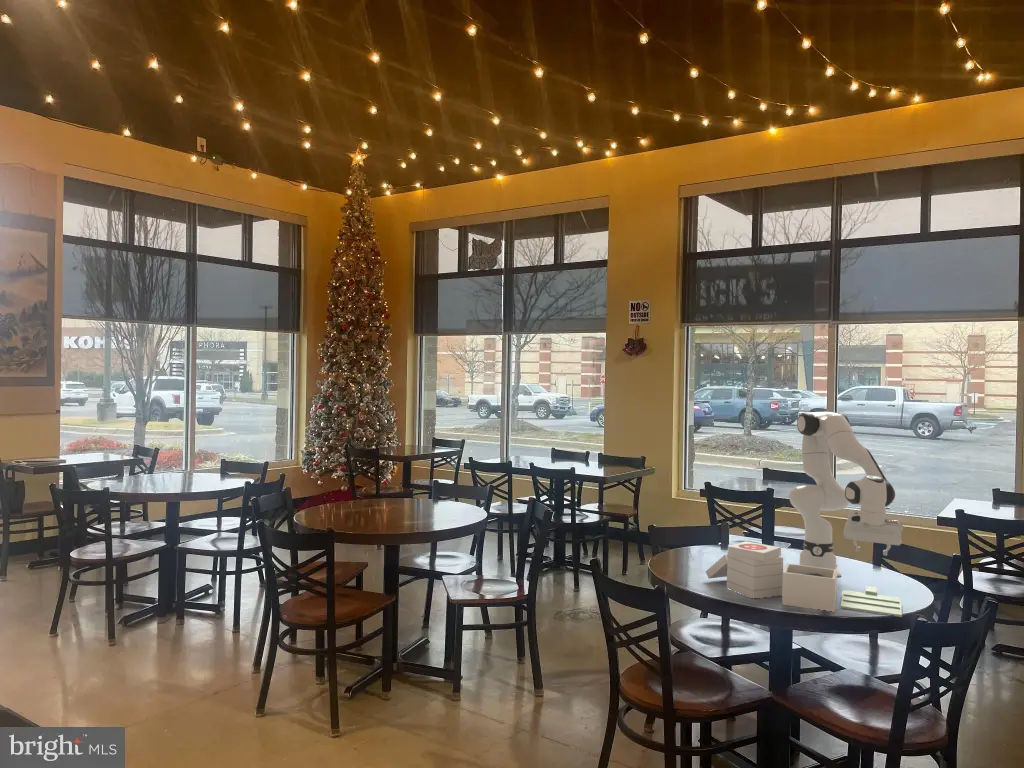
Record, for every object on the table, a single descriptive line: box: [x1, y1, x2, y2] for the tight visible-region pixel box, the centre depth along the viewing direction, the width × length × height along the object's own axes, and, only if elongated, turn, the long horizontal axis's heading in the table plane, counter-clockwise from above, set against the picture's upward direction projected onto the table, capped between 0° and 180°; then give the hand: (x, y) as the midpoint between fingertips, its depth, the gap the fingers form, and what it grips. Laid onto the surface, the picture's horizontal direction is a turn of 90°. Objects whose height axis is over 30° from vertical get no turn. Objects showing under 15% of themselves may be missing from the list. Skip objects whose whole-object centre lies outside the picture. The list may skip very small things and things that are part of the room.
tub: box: [781, 563, 838, 613], centre depth 268 cm, size 16×18×12 cm
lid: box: [840, 585, 903, 618], centre depth 268 cm, size 24×20×4 cm
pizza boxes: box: [705, 540, 784, 600], centre depth 286 cm, size 19×30×18 cm, turn 24°
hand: (871, 553), depth 275 cm, fingers open, 8 cm apart
